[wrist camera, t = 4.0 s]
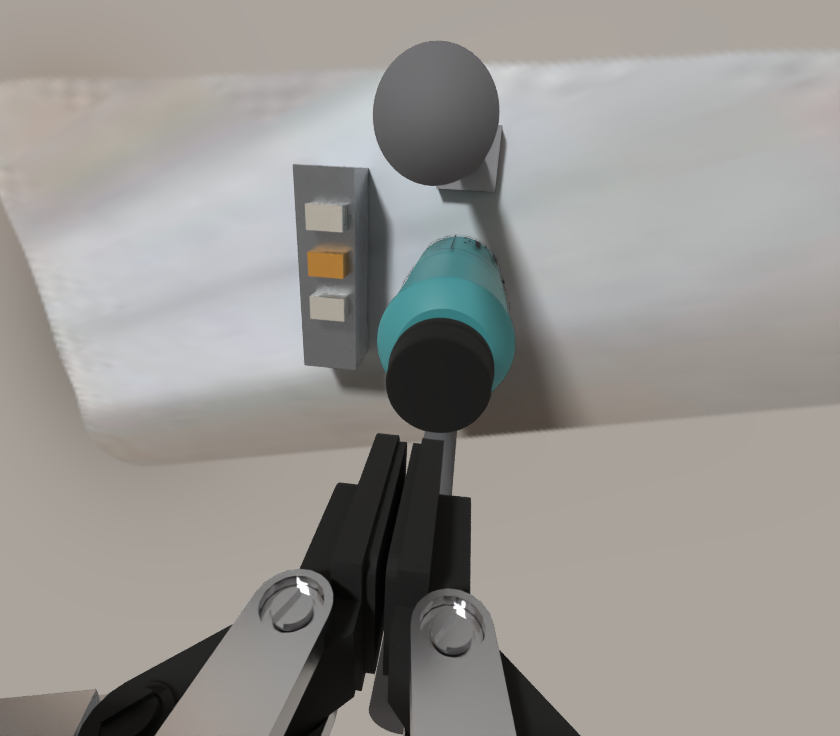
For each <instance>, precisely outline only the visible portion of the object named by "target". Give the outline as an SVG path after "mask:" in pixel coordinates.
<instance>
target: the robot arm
mask: <svg viewBox="0 0 840 736" xmlns="http://www.w3.org/2000/svg"><path fill="white" fill-rule="evenodd" d="M443 449H444V440H436V439H427V438H423V439H422V443H421V444H419V443H413V447H412V451H411V457H410V460H409V465H408V469H407V474H406V457H407V442H400V438H399V435H389V434H380V433H378V434H377V435H376V437H375V440H374V443H373V445H372V448H371V451H370V453H369V456H368V459H367V462H366V464H365V467H364V470H363V473H362V475H361V478H360V481H359V483H358V485H355V484H348V483H338V484H337V485H336V487H335V489H334V491H333V494H332V496H331V498H330V500H329V503H328V505H327V507H326V510H325V512H324V514H323V516H322V519H321V521H320V523H319V526H318V528H317V530H316V533H315V535H314V537H313V539H312V542H311V544H310V546H309V549H308V551H307V553H306V556H305V558H304V560H303V563H302V565H301V567H300V569H295V570H287V571H285V572H282V573H279V574H277V575H275V576H273V577H272V578H270V579H269V580H267V581H266V582H264V583H263V584H262V586H261V587H260V588H259V589H258V590H257V591H256V592H255V594H254V595H253V597H252V598H251V599H250V601H249V602H248V604H247V605H246V606H245V608H244V609H243V611H242V612H241V614H240V615H239V617H238V618H237V619H236V621H235V622H234V624H232V625H230V626H229V627H227V628H225V629H223V630H221V631H219V632H217V633H216V634H214V635H212V636H210V637H208V638H206V639H205V640H203V641H201V642H199V643H197V644H195V645H194V646H192V647H190V648H188V649H186V650H185V651H182V652H181V653H179V654H177V655H175V656H173V657H171V658H170V659H168V660H166V661H164V662H162V663H160V664H159V665H157V666H155V667H153V668H151V669H149V670H147V671H146V672H144V673H142V674H140V675H138V676H136V677H135V678H133V679H131V680H129V681H127V682H125V683H124V684H123V685H121V686H119V687H118V688H116V689H115V690H113V691H112V692H110V693H109V694H107V695H98V693H97V690H96V689H92V690H83V691H72V692H64V693H54V694H43V695H33V696H23V697H13V698H3V699H0V736H329V735H330V733H331V730H332V727H333V725H334V722H335V718H336V714H337V709H338V708H340V707H341V706H342V705H344V704H345V703H346V702H348V701H349V700H350V699H351V698H353V697H354V694H355V690H358V691H362V687H363V682H364V677H365V673H371V674H375V671H376V667H377V662H378V657H379V652H380V646H381V641H382V636H383V631H384V644H383V675H384V676H388V700H387V702H388V703H389V705H390V706H391V708H392V710H393V711H394V713H395V714H396V716H397V717H398V719H399V720H400V722H401V723H402V725H403V726H404V731H403V736H580V735H579V734H578V733H577V731H575V729H574V728H573V727H572V726H571V725H570V724H569V723H568V722H567V721H566V720H565V719H564V718H563V717H562V716H561V715H560V713H559V712H557V711H556V709H555V708H554V707H553V706H552V705H551V704H550V703H549V702H548V701H547V700H546V699H545V698H544V697H543V695H542V694H541V693H540V692H539V691H538V690H537V689H536V688H535V687H534V686H533V685H532V684H531V683H530V682H529V681H528V680H527V679H526V678H525V676H524V675H523V674H522V673H521V672H520V671H519V670H518V669H517V668H516V667H515V666H514V665H513V664H512V663H511V662H510V661H509V659H508V658H507V657H506V656H505V655H504V654H503V653H502V652H501V651H500V650H499V647H498V642H497V638H496V632H495V627H494V624H493V621H492V618H491V615H490V613H489V611H488V610H487V609H486V607H485V606H484V605H483V604H482V602H480V601H479V600H478V599H476V598H475V597H474V596H472V595H471V594H470V553H471V551H470V550H471V498H469V497H460V496H451V495H443V494H440V483H441V471H442V460H443Z"/></svg>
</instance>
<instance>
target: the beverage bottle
mask: <svg viewBox="0 0 840 736" xmlns="http://www.w3.org/2000/svg"><path fill="white" fill-rule="evenodd" d="M449 236H450V235H449ZM465 236H466V235H465ZM447 237H448V236H447ZM447 237H446V238H445V239H444V238H443V239H442V240H440V241H437V242H436V241H435V243H434V244H433V245H431V243H430V245H431V246H430V247H429V246H428V247H429V248H427V249H426V251H425V252H424V253H423V254H422V256H421V257H420V259H419V261H418V262H417V264H416V266H415V267H414V269H413V268H412V269H413V270H412V272H411V271H410V272H411V274H410V276H409V277H408V276H407V277H408V279H407V281H406V282H405V281H404V282H405V284H404V285H403V287H402V288H401V290H400V291H399V293H398V294H397V295H396V296H395V297H394V298H393V300H392V301H391V302H390V304H389V305H388V306H387V308H386V310H385V312H384V313H383V316H382V318H381V320H380V324H379V327H378V334H377V348H378V354H379V358H380V361H381V364H382V366H383V369H384V370H385V372H386V390H387V394H388V398H389V400H390V403H391V405H392V407H393V408H394V410H395V411H396V412H397V414H398V415H399V416H400V417H401V418H402V419H403V420H405V421H406V422H407V423H409V424H410V425H412V426H414V427H416V428H418V429H421V430H424V431H428V432H433V433H449V432H454V431H457V430H460V429H462V428H465V427H467V426H468V425H470V424H471V423H473V422H474V421H475V420H476V419H477V418H478V417H479V416H480V415H481V414H482V413H483V411H484V410H485V408H486V407H487V405H488V402H489V400H490V396H491V392H492V391H493V390H494V389H495V388H496V387H498V385H499V384H500V383H501V382H502V381H503V379H504V378H505V376H506V375H507V373H508V371H509V369H510V367H511V365H512V361H513V358H514V353H515V332H514V328H513V324H512V320H511V318H510V316H509V313H508V308H507V302H506V298H505V294H504V290H503V286H502V281H501V278H500V274H499V269H498V266H497V265H498V264H497V260H496V259H497V258H495V256H494V255H493V256H492V254H491V253H490V252H489V250H488V249H490V248H487V247H484V246H483V245H482V244H483V243H482V244H480V242H478V240H477V241H476V239H475V240H473V239H471V238H467V236H466V237H456V235H455V236H453V237H449V238H447ZM469 237H470V236H469ZM472 238H473V237H472ZM438 240H439V239H438ZM433 242H434V241H433ZM490 250H491V249H490ZM499 266H500V265H499ZM500 269H501V268H500ZM502 276H503V275H502ZM502 278H503V277H502ZM405 280H406V279H405ZM503 280H504V279H503ZM503 283H504V281H503ZM504 288H505V287H504ZM505 290H506V289H505ZM506 293H507V292H506ZM509 305H510V304H509ZM509 309H510V307H509Z"/></svg>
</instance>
